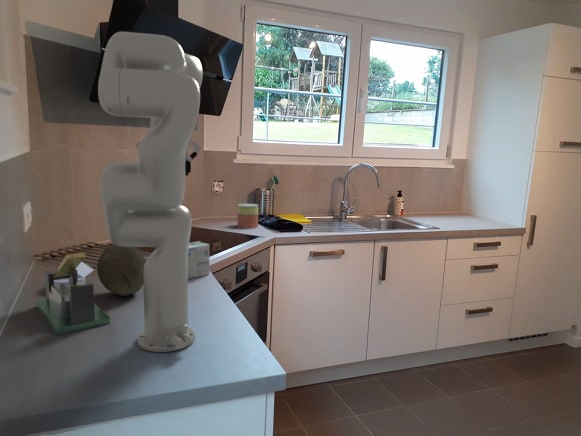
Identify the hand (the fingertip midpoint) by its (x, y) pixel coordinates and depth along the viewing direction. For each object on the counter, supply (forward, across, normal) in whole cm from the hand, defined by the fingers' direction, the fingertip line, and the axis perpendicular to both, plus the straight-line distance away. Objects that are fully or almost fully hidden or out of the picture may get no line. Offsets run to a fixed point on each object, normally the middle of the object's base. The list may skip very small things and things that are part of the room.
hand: (169, 175), depth 125 cm
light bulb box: (+36, +8, +21) cm, 42 cm away
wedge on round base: (+36, -28, +16) cm, 48 cm away
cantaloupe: (+36, -13, +5) cm, 38 cm away
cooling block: (+36, -25, -8) cm, 44 cm away
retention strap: (+24, -25, -7) cm, 36 cm away
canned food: (+35, +46, +106) cm, 121 cm away
